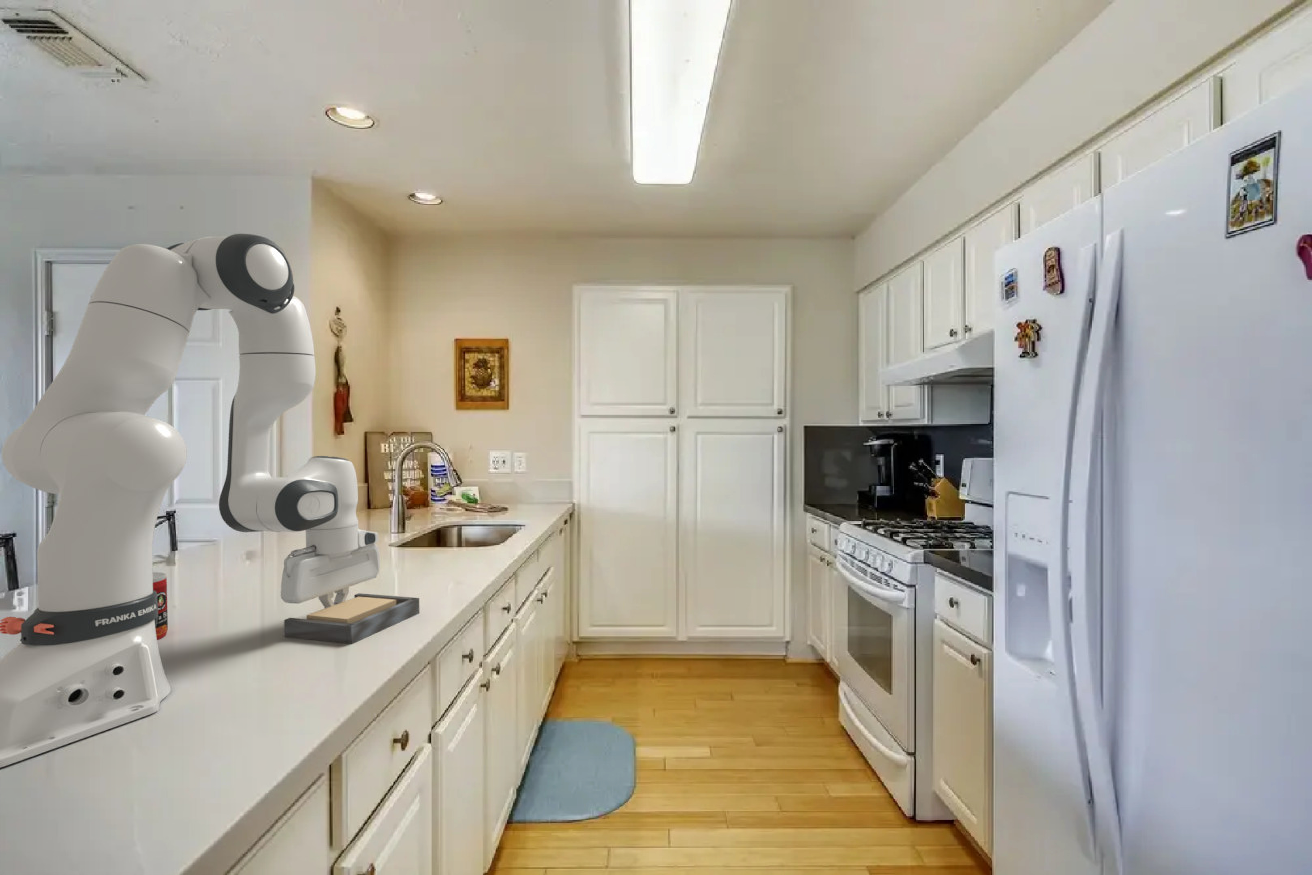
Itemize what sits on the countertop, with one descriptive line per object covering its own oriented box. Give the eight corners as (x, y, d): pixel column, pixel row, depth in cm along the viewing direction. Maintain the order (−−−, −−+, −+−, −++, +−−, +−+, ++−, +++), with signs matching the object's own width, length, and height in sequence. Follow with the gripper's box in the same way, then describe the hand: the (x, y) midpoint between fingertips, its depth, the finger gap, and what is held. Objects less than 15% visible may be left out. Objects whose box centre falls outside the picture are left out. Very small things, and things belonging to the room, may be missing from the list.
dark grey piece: (352, 643, 100) (351, 626, 100) (284, 636, 104) (284, 619, 104) (419, 613, 117) (419, 598, 117) (359, 607, 121) (358, 593, 121)
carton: (347, 641, 103) (347, 619, 103) (307, 637, 105) (306, 614, 105) (396, 620, 114) (396, 599, 114) (358, 616, 117) (358, 596, 117)
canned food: (142, 647, 100) (140, 582, 100) (96, 647, 100) (94, 583, 100) (179, 631, 108) (178, 571, 108) (136, 631, 108) (135, 572, 108)
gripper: (299, 553, 101) (300, 633, 101) (384, 532, 121) (386, 599, 121) (270, 551, 103) (272, 630, 103) (359, 531, 123) (360, 597, 123)
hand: (334, 613), depth 112 cm, fingers closed
